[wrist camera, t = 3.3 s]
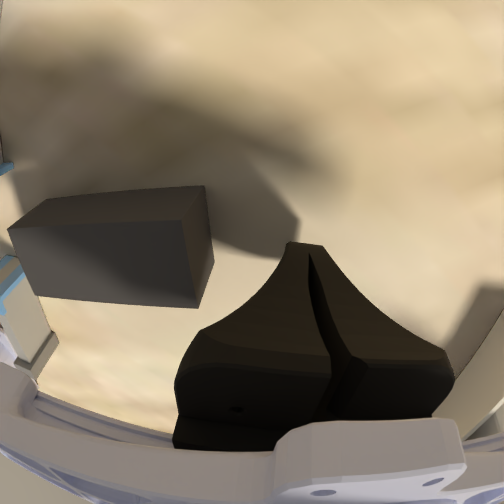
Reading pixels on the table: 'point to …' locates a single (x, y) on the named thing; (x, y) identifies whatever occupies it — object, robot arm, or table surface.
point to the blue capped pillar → (23, 311)
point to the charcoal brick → (119, 247)
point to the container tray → (478, 385)
